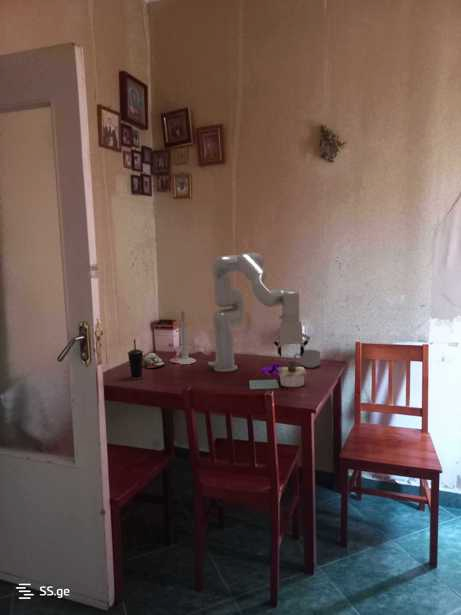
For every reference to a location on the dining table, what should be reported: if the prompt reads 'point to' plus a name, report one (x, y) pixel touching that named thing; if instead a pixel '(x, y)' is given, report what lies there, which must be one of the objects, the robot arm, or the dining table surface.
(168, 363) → the dining table surface
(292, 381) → the bowl
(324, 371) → the dining table surface
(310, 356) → the teacup
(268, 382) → the mat
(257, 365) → the dining table surface
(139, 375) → the drinking cup
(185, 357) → the candlestick
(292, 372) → the lid
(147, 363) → the skull
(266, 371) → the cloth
